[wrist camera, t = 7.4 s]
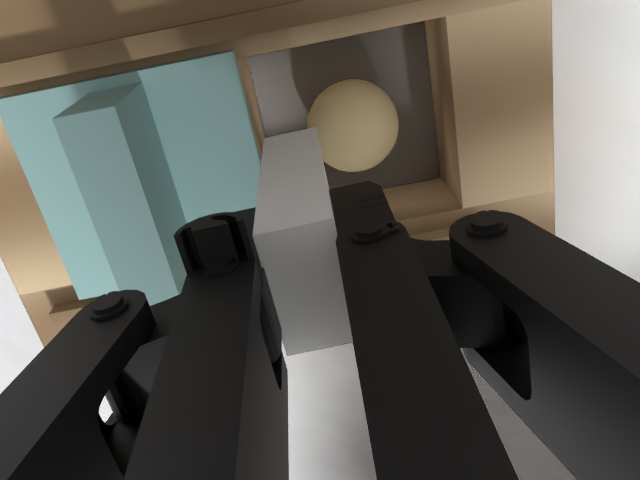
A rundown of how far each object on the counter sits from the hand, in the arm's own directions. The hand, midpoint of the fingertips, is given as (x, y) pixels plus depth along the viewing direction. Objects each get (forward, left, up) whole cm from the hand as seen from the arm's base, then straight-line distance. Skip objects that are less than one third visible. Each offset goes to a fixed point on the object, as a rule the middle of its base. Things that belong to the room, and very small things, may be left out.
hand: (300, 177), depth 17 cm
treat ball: (0, -2, -5) cm, 5 cm away
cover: (0, +5, -1) cm, 5 cm away
